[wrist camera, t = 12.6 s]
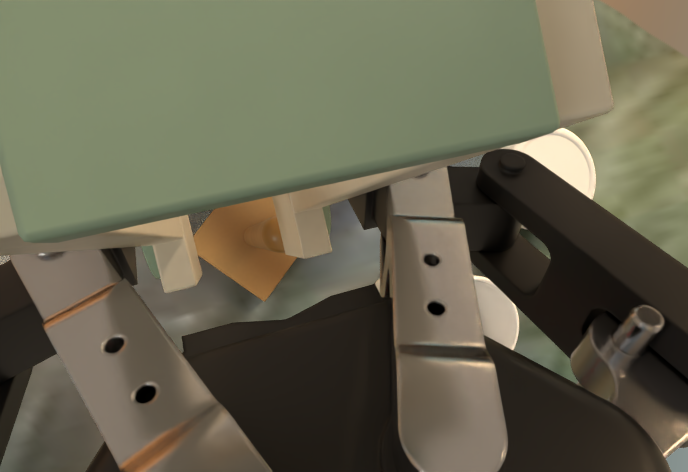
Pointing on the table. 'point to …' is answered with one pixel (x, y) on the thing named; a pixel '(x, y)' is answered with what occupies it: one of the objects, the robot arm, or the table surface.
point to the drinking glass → (494, 312)
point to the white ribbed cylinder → (563, 158)
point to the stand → (245, 245)
